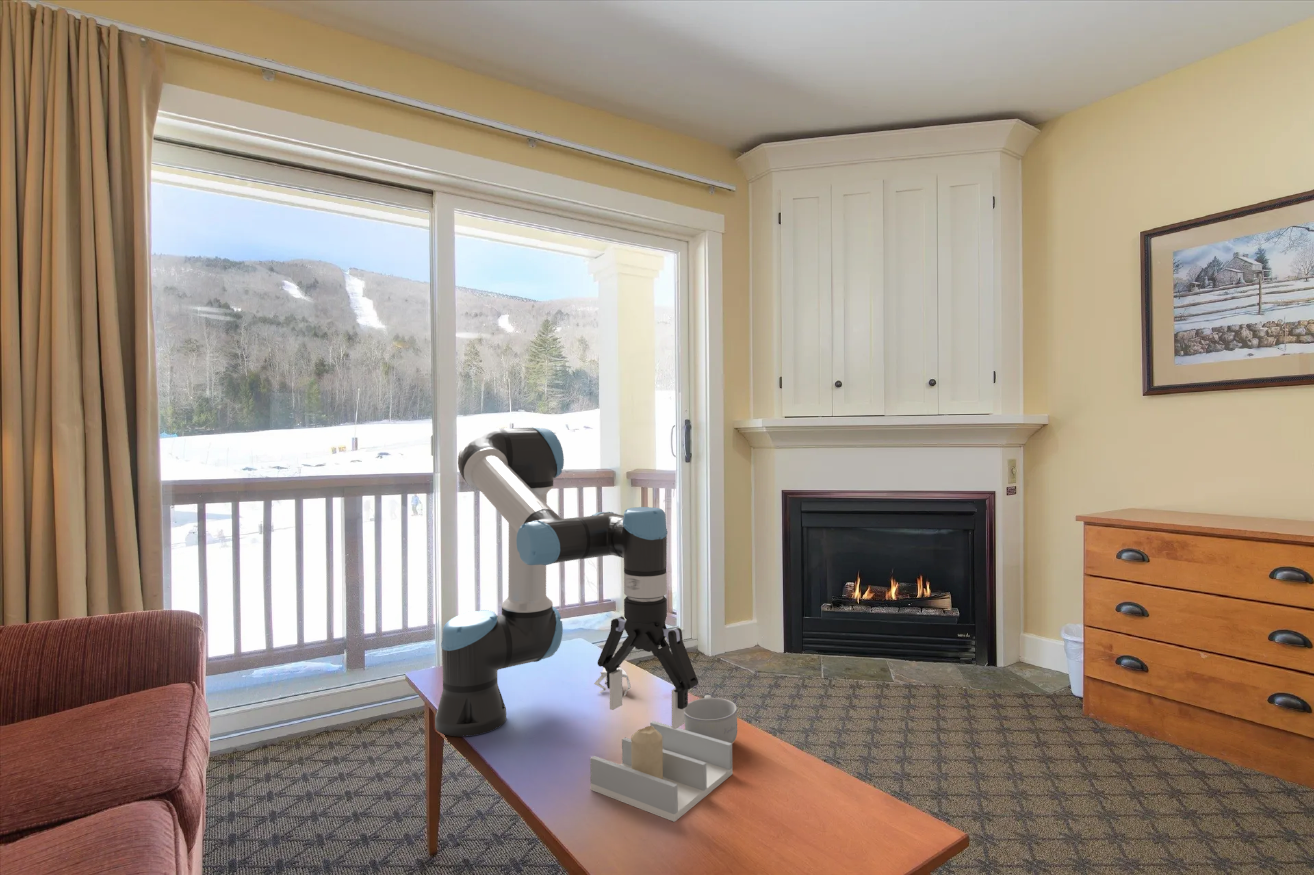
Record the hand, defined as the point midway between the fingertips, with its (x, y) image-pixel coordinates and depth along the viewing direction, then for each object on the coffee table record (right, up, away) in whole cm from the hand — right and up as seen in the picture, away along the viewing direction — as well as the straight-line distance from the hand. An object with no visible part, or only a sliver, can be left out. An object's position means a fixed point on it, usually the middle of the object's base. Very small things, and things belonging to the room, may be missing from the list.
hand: (646, 716), depth 123 cm
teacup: (+13, -13, +19) cm, 27 cm away
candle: (0, -12, 0) cm, 12 cm away
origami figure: (-9, -13, +48) cm, 51 cm away
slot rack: (+3, -13, +4) cm, 14 cm away
